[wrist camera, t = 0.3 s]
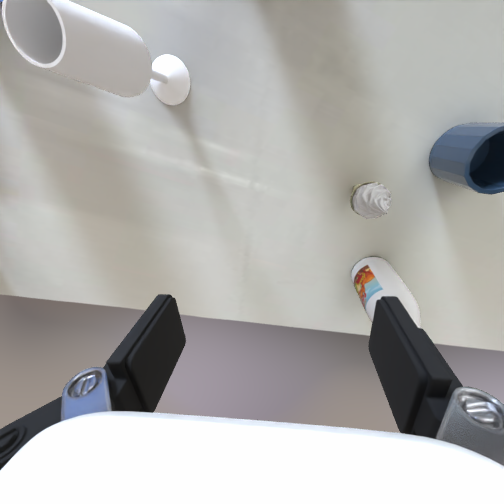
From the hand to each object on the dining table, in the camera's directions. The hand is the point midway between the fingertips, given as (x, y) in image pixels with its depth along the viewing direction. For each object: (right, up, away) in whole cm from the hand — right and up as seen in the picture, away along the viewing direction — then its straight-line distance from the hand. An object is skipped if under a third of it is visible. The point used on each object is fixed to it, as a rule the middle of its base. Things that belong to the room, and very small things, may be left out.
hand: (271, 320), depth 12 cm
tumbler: (+32, +19, +27) cm, 46 cm away
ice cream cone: (+17, +15, +32) cm, 39 cm away
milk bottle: (+23, -1, +39) cm, 45 cm away
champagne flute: (-14, +30, +28) cm, 43 cm away
